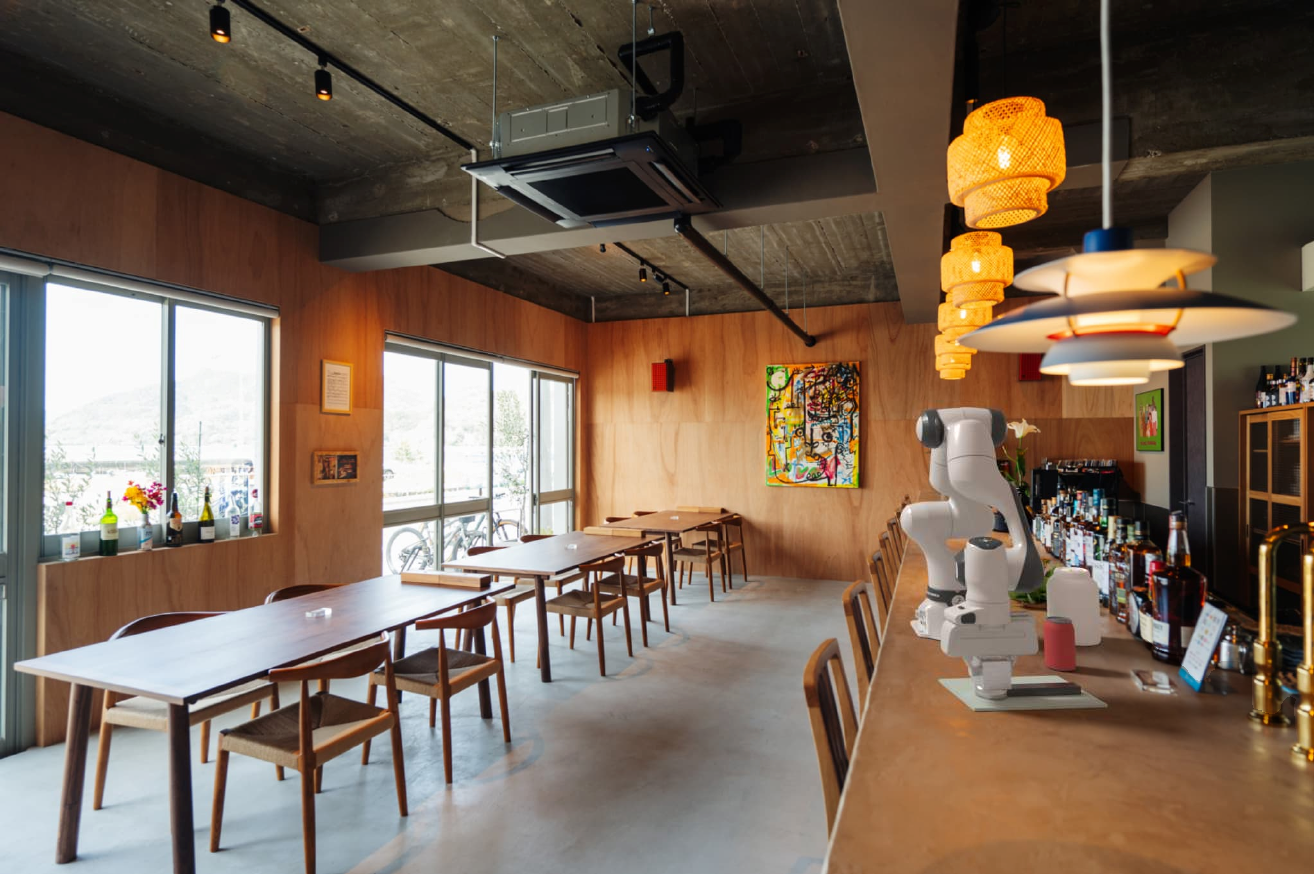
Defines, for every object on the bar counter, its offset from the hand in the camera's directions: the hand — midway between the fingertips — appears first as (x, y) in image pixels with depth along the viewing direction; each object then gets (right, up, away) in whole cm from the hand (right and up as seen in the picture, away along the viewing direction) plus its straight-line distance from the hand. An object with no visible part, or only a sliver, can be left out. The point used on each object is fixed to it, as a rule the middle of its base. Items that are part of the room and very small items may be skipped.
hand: (990, 675), depth 149 cm
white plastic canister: (+43, -5, +40) cm, 59 cm away
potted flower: (+56, -5, +80) cm, 98 cm away
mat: (+7, -5, +2) cm, 9 cm away
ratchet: (+8, -4, 0) cm, 9 cm away
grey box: (0, -2, 0) cm, 2 cm away
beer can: (+26, -5, +18) cm, 32 cm away
